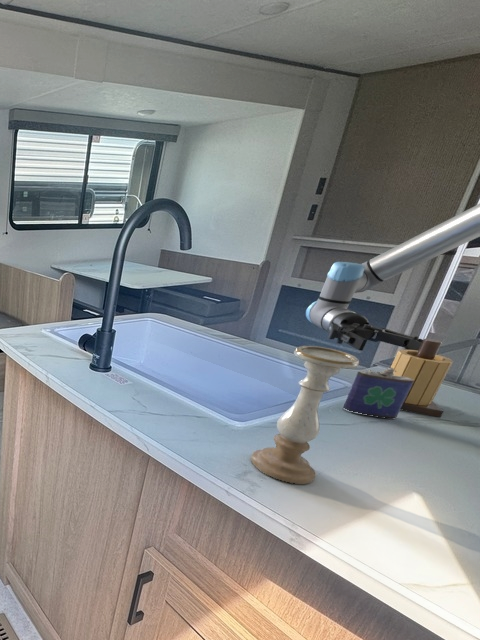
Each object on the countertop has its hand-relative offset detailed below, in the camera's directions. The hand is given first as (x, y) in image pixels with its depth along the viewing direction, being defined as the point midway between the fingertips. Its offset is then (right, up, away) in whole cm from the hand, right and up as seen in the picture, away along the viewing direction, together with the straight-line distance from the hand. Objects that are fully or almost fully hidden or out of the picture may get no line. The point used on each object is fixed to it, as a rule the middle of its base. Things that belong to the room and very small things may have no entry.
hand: (395, 349), depth 102 cm
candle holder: (-51, -23, -31) cm, 64 cm away
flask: (-16, -15, -10) cm, 25 cm away
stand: (-3, -13, -5) cm, 14 cm away
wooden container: (-3, -11, -5) cm, 13 cm away
